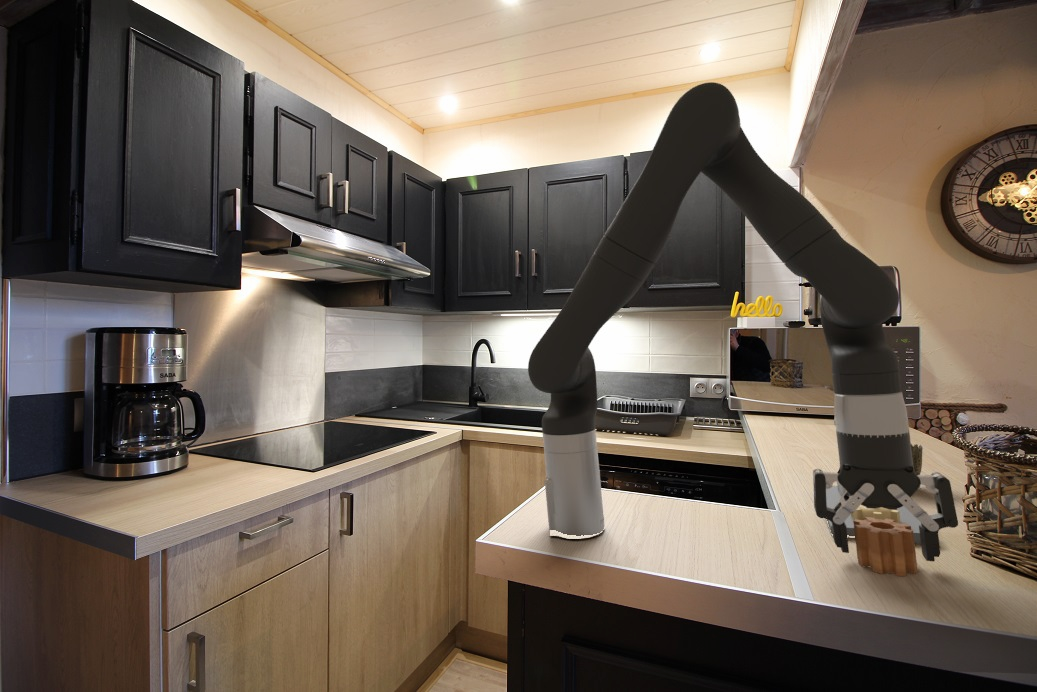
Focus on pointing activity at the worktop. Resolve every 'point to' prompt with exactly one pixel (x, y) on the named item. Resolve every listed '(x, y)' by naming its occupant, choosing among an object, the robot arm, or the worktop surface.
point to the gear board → (850, 524)
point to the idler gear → (885, 546)
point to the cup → (917, 458)
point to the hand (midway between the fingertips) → (885, 554)
